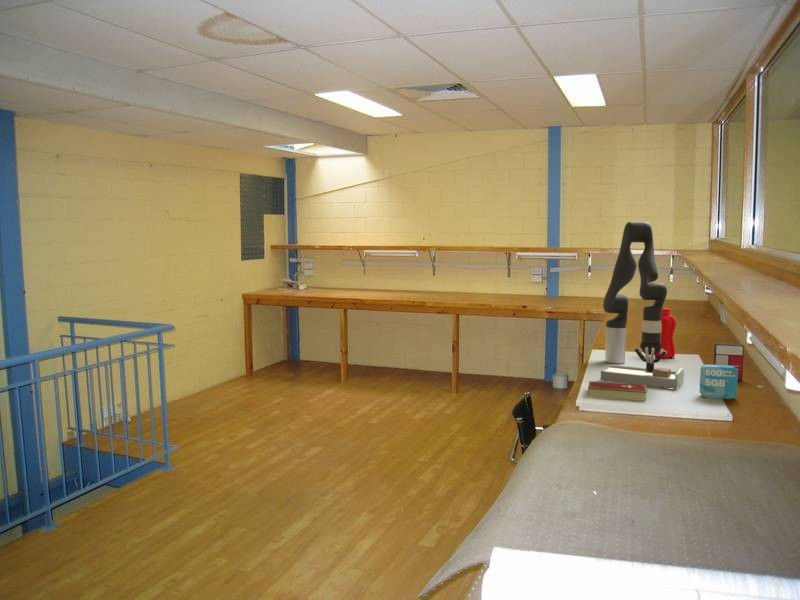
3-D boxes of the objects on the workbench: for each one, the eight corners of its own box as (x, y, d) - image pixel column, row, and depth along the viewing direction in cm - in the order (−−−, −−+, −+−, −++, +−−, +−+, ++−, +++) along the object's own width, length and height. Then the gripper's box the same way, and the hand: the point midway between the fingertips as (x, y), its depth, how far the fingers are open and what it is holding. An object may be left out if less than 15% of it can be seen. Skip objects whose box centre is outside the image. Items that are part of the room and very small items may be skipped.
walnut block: (655, 374, 262) (655, 367, 262) (670, 375, 259) (671, 368, 259) (652, 376, 257) (652, 369, 257) (668, 378, 254) (668, 371, 254)
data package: (701, 397, 235) (703, 366, 234) (699, 394, 240) (700, 364, 238) (736, 399, 232) (738, 368, 231) (733, 396, 237) (735, 365, 236)
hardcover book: (588, 390, 248) (589, 380, 247) (645, 394, 241) (645, 384, 241) (587, 397, 237) (587, 386, 236) (646, 402, 230) (647, 391, 229)
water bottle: (662, 354, 326) (664, 306, 323) (677, 358, 315) (679, 309, 313) (647, 355, 323) (649, 307, 321) (662, 359, 312) (664, 309, 310)
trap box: (610, 373, 278) (611, 360, 278) (683, 381, 262) (684, 367, 262) (600, 380, 264) (600, 366, 263) (676, 389, 248) (677, 374, 247)
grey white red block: (713, 378, 268) (715, 344, 266) (712, 376, 272) (714, 342, 270) (742, 380, 264) (744, 345, 263) (740, 378, 268) (742, 344, 267)
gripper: (670, 331, 259) (668, 372, 260) (637, 328, 266) (635, 368, 267) (666, 333, 252) (665, 375, 254) (632, 330, 260) (631, 371, 261)
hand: (649, 371), depth 261 cm, fingers closed
